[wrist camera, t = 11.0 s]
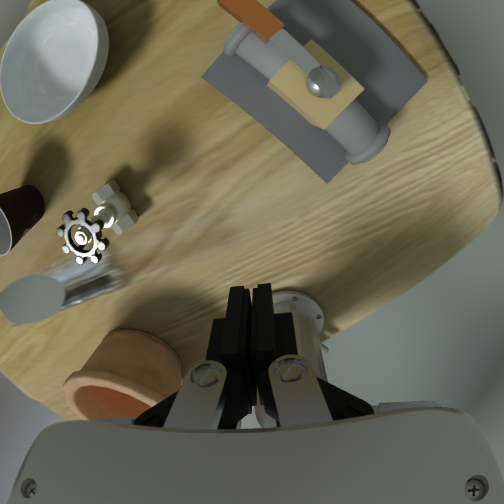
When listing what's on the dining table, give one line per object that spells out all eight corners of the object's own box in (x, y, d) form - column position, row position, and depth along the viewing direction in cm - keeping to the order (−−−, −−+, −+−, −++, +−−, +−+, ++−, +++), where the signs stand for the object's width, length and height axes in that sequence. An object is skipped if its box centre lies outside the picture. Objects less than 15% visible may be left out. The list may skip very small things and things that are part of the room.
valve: (126, 170, 37) (82, 199, 27) (151, 210, 40) (117, 251, 29) (93, 194, 39) (47, 228, 28) (117, 231, 42) (79, 274, 31)
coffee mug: (40, 172, 37) (-1, 193, 28) (55, 223, 41) (19, 253, 32) (-1, 188, 38) (-39, 210, 29) (13, 233, 42) (-21, 260, 33)
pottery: (145, 400, 61) (131, 452, 49) (73, 339, 53) (44, 390, 40) (218, 375, 55) (211, 438, 43) (137, 297, 47) (106, 361, 34)
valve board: (422, 81, 31) (461, 81, 22) (324, 180, 38) (343, 204, 30) (310, -26, 25) (325, -56, 16) (203, 77, 32) (186, 70, 24)
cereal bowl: (139, 82, 32) (115, 79, 26) (47, 138, 35) (17, 148, 28) (105, -14, 24) (81, -28, 18) (20, 49, 27) (-10, 48, 21)
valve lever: (342, 85, 24) (348, 84, 22) (319, 104, 25) (324, 105, 23) (239, -11, 20) (238, -19, 18) (215, 8, 21) (212, 1, 19)
